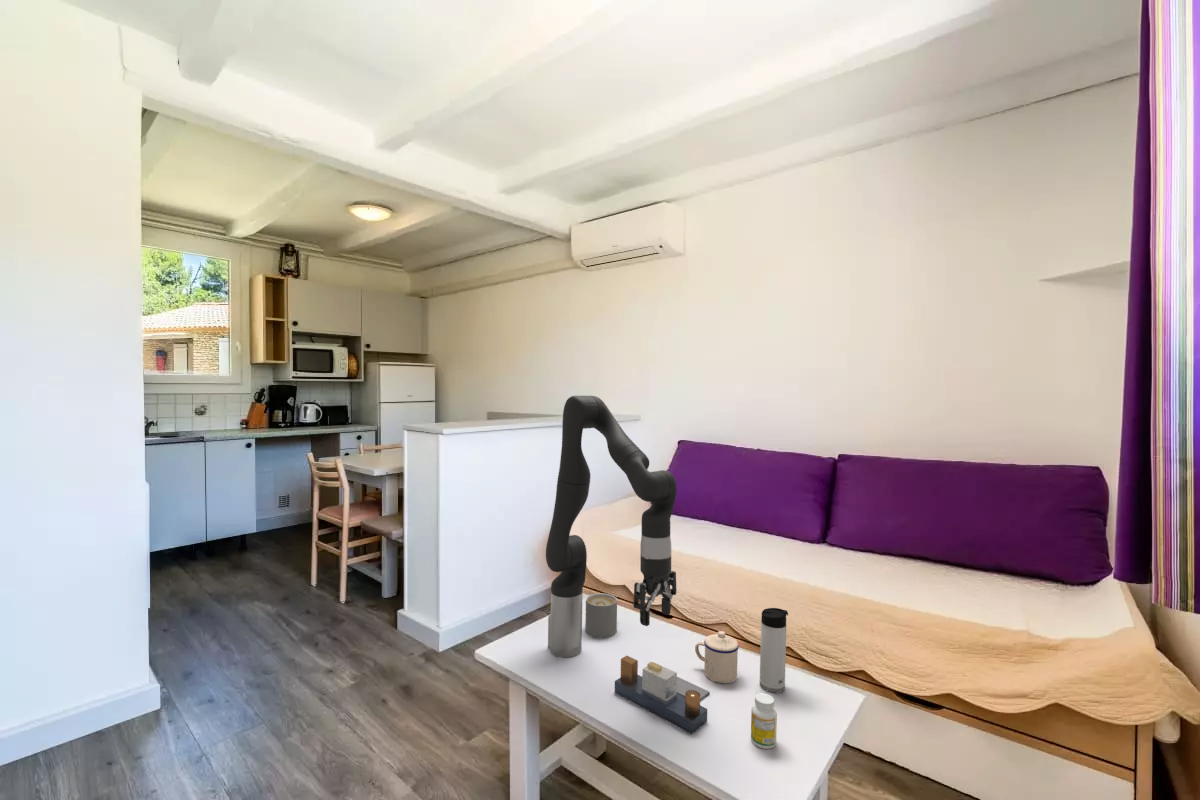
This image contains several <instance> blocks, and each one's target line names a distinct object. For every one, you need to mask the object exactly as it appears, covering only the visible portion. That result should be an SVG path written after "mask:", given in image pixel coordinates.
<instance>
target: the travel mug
mask: <svg viewBox="0 0 1200 800" xmlns="http://www.w3.org/2000/svg"><path fill="white" fill-rule="evenodd" d="M787 616H789V612H788V611H787V610H786V609H782V608H777V607H768V608H764V609H763V610H762V611H761V622H760V653H759V654H760V656H759V660H760V661H759V686H760V687H761V688H762V689H763V688H764V691H767V690H768V691H767V692H769V691H771V692H770V693H774V692H778V693H781V692H780V691H782V690H783V691H785V689H786V683H785V682H786V659H787V658H786V657H787V656H786V654H787V653H786V652H787V650H786V649H787ZM784 688H785V689H784ZM783 691H782V692H783Z"/></svg>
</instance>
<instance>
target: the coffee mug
mask: <svg viewBox="0 0 1200 800" xmlns="http://www.w3.org/2000/svg"><path fill="white" fill-rule="evenodd" d="M584 623H585V628H584V629H585V633H586V635H588V636H590V637H592V638H596V639H607V638H611V637H613V636H615V635H616V634H617V631H618V630H617V628H618V627H617V626H618V598H617V597H616V596H614V595H612V594H608V593H603V592H602V593H592V594H589V595H588V596H586V598H585V622H584Z"/></svg>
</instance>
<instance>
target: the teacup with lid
mask: <svg viewBox="0 0 1200 800" xmlns="http://www.w3.org/2000/svg"><path fill="white" fill-rule="evenodd" d="M700 646H703V647H704V656H703V655H702V654H701V653H700V650H699V647H700ZM739 647H740V646H739V642H738V641H737V640H736V639H735V638H734V637H732V636H730V635H727V634H726V632H725V631H722V630H719V631H717V633H714V634H713V633H712V634H709V635H708V636H706V637H705V638H704V641H699V642H697V643H696V644H695V646H694V648H695V649H694V650H695V654H696V657H697V658H698V659H699V660H701V661H702V662H704V668H703V669H704V675H705V676H706V678H708V680H710V681H713V682H714V683H715V682H716V683H717V684H718V683H719V684H728V683H729V684H730V683H733V682H734V681H736V680H737V677H738V657H739V656H738V655H739V654H738V650H739Z"/></svg>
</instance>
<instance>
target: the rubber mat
mask: <svg viewBox="0 0 1200 800" xmlns="http://www.w3.org/2000/svg"><path fill="white" fill-rule="evenodd" d="M688 690H695V691H698V692H699V693H700V702H701V701H702V700H704V699H705V698H706V697H707V696H710V691H709V690H708V689H704V688H703V687H700V686H698V685H696V684H694V683H692V682H689V681H688V680H685V679H683V678H681V677H679V676H677V688H676V694H678V695H680V696H682V697H684V698H685V693H686V691H688Z"/></svg>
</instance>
